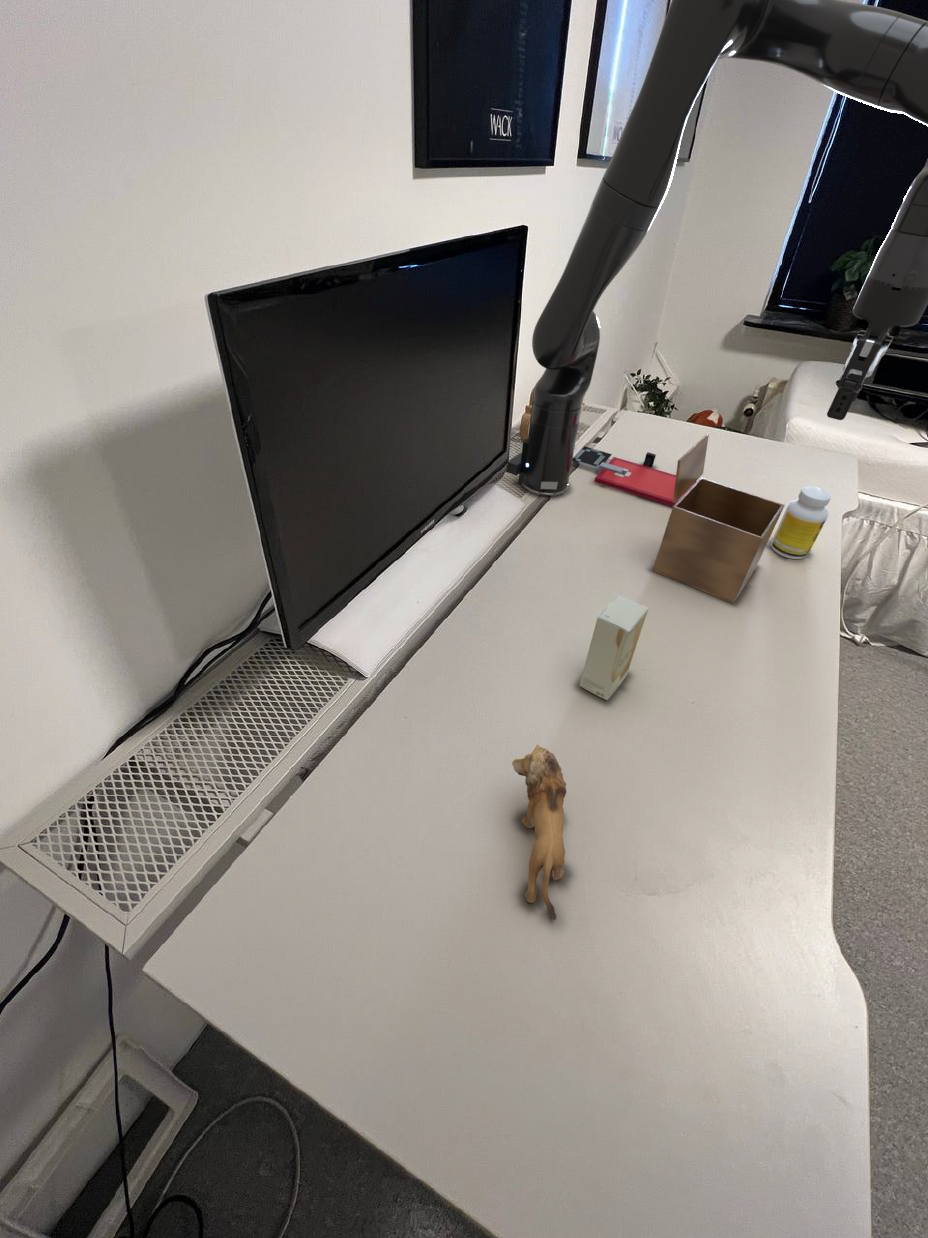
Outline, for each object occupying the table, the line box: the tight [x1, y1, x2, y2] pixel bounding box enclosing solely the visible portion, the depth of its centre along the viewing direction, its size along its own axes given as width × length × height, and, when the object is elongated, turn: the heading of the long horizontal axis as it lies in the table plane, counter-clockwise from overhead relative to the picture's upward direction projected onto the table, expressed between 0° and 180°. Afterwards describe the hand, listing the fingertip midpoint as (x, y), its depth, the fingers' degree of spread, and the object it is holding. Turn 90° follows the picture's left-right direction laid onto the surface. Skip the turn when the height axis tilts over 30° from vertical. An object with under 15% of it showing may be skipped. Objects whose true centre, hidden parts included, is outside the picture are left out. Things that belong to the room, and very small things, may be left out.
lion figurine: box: [511, 744, 567, 921], centre depth 59 cm, size 15×5×9 cm, turn 6°
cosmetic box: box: [579, 594, 649, 701], centre depth 77 cm, size 6×4×12 cm
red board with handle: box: [572, 445, 698, 508], centre depth 124 cm, size 30×3×15 cm
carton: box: [652, 477, 786, 605], centre depth 98 cm, size 14×13×12 cm
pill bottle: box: [770, 485, 832, 560], centre depth 104 cm, size 6×6×12 cm
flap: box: [673, 433, 710, 503], centre depth 94 cm, size 7×13×1 cm
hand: (840, 408), depth 82 cm, fingers open, 8 cm apart
